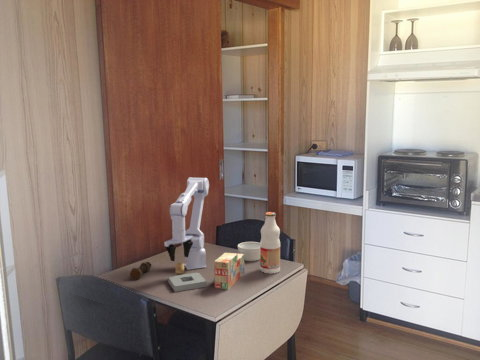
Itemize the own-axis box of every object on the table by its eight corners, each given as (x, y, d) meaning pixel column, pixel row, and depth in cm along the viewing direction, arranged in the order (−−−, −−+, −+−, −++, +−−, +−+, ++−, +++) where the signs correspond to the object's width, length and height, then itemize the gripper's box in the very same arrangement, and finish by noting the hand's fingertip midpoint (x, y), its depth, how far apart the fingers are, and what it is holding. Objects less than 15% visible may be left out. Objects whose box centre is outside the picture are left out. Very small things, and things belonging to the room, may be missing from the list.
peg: (183, 276, 200) (182, 262, 199) (185, 278, 196) (185, 265, 195) (174, 277, 198) (174, 263, 197) (176, 280, 195) (176, 266, 194)
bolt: (150, 272, 211) (136, 282, 196) (141, 266, 211) (127, 276, 197) (155, 262, 210) (142, 272, 195) (147, 256, 210) (133, 266, 195)
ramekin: (232, 259, 224) (232, 246, 222) (246, 252, 234) (246, 240, 233) (254, 264, 216) (254, 250, 215) (267, 257, 227) (268, 244, 226)
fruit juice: (277, 275, 200) (277, 215, 196) (257, 272, 203) (257, 214, 199) (282, 268, 209) (282, 211, 205) (263, 266, 212) (263, 210, 208)
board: (198, 277, 198) (198, 272, 198) (206, 286, 187) (206, 281, 187) (168, 281, 193) (168, 276, 192) (174, 291, 182) (174, 286, 181)
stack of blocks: (232, 271, 206) (231, 246, 204) (244, 273, 203) (244, 247, 202) (214, 288, 186) (214, 260, 184) (228, 290, 183) (227, 262, 182)
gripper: (186, 225, 202) (187, 253, 204) (160, 230, 192) (161, 260, 194) (195, 227, 197) (196, 256, 199) (169, 233, 187) (170, 264, 189)
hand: (179, 258), depth 196 cm, fingers open, 7 cm apart
